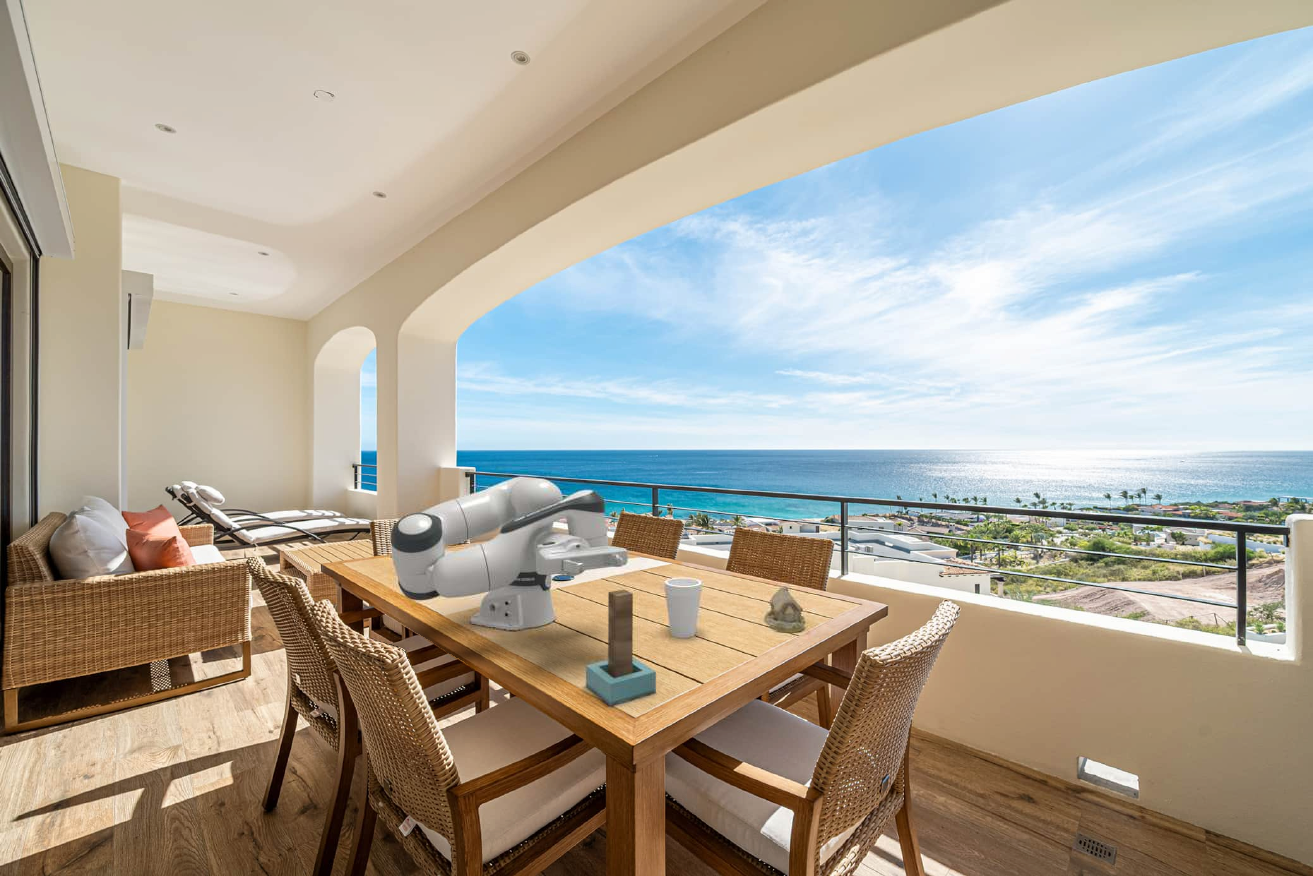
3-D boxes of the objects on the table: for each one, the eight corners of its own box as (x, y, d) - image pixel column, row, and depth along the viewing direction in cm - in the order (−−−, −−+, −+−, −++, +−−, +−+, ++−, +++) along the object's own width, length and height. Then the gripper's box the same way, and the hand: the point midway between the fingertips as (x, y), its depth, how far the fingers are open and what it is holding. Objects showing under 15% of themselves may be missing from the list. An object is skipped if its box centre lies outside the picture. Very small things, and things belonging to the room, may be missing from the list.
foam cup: (687, 642, 130) (687, 589, 130) (657, 634, 135) (657, 583, 135) (708, 632, 137) (708, 581, 137) (678, 624, 143) (678, 576, 143)
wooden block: (608, 684, 105) (608, 592, 105) (623, 679, 107) (623, 589, 107) (616, 690, 102) (617, 596, 102) (632, 686, 104) (632, 593, 104)
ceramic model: (760, 616, 151) (760, 580, 151) (800, 616, 151) (800, 580, 151) (769, 633, 137) (769, 594, 137) (813, 633, 137) (813, 594, 137)
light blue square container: (586, 685, 106) (586, 665, 106) (629, 674, 112) (629, 654, 112) (610, 706, 98) (610, 684, 98) (655, 692, 103) (655, 671, 103)
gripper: (610, 564, 129) (641, 574, 118) (529, 574, 118) (555, 587, 106) (610, 538, 130) (642, 545, 118) (530, 545, 118) (556, 555, 107)
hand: (600, 565), depth 112 cm, fingers open, 8 cm apart
